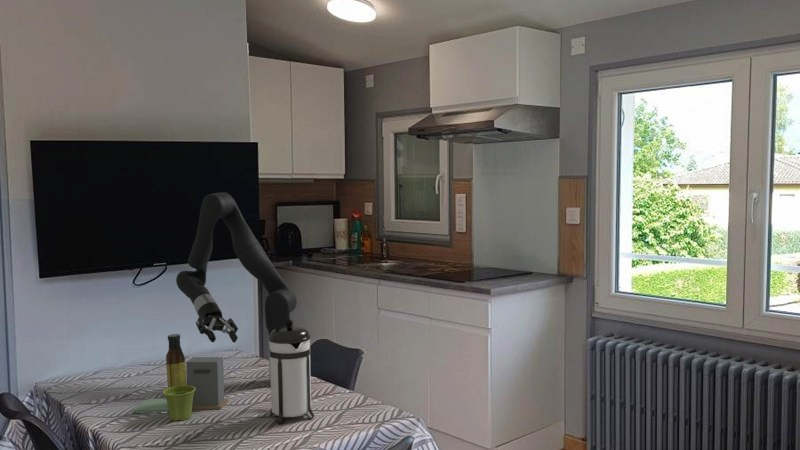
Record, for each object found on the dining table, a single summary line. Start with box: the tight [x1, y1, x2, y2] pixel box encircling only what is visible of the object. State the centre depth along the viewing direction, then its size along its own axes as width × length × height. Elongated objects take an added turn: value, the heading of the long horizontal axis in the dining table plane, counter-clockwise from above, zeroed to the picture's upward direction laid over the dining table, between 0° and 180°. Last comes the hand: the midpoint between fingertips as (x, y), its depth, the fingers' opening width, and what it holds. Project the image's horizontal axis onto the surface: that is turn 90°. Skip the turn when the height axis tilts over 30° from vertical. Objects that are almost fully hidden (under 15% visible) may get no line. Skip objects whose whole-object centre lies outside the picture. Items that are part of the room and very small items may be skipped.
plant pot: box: [162, 385, 196, 422], centre depth 206 cm, size 9×9×9 cm
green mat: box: [133, 398, 169, 414], centre depth 216 cm, size 11×11×1 cm
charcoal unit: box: [185, 356, 229, 411], centre depth 217 cm, size 12×8×15 cm, turn 87°
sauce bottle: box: [165, 333, 187, 389], centre depth 232 cm, size 6×6×20 cm
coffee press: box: [267, 318, 315, 425], centre depth 206 cm, size 17×16×30 cm
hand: (225, 340), depth 233 cm, fingers open, 8 cm apart
